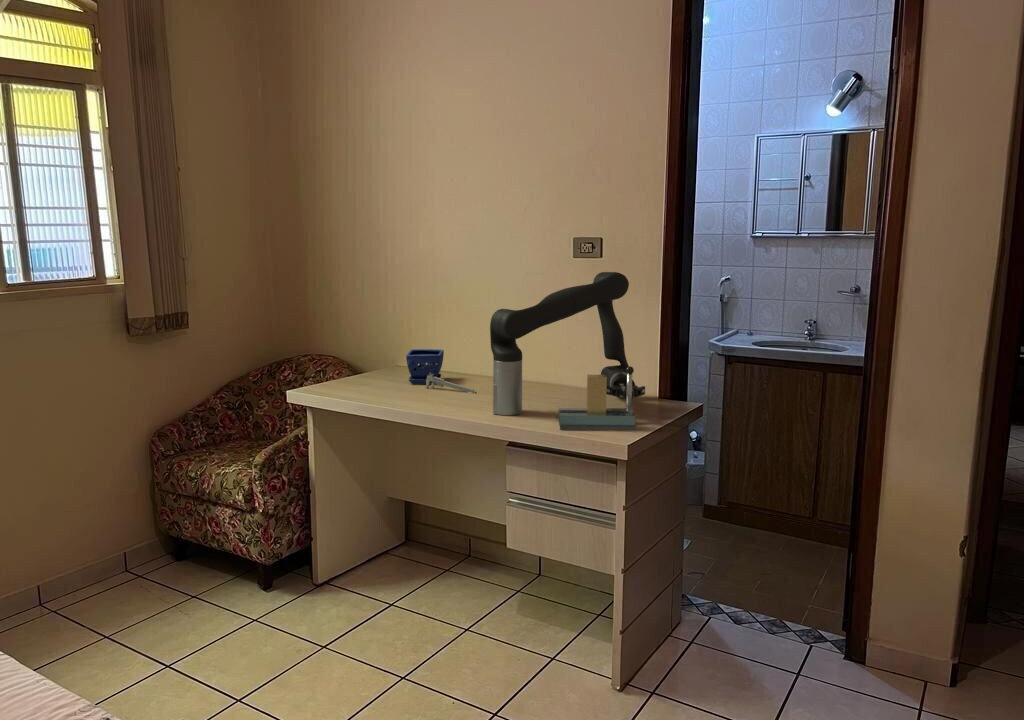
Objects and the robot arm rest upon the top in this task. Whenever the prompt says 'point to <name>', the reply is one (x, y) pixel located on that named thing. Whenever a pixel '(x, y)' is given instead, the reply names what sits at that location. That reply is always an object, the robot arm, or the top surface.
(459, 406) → the top surface
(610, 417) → the vise
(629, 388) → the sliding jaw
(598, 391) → the block
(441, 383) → the caliper
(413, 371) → the flower pot
